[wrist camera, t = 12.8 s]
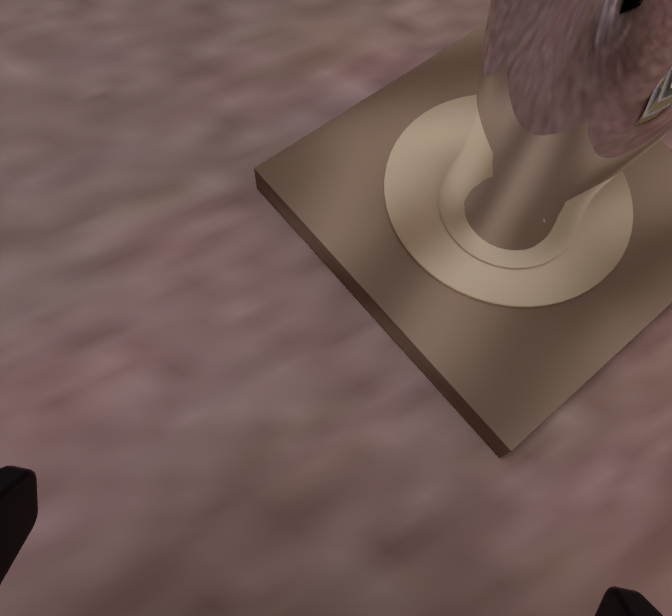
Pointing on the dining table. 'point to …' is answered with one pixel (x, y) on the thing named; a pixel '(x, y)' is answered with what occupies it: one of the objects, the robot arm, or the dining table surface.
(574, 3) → the beer glass
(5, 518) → the robot arm
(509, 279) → the walnut board
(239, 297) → the dining table surface
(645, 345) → the dining table surface
